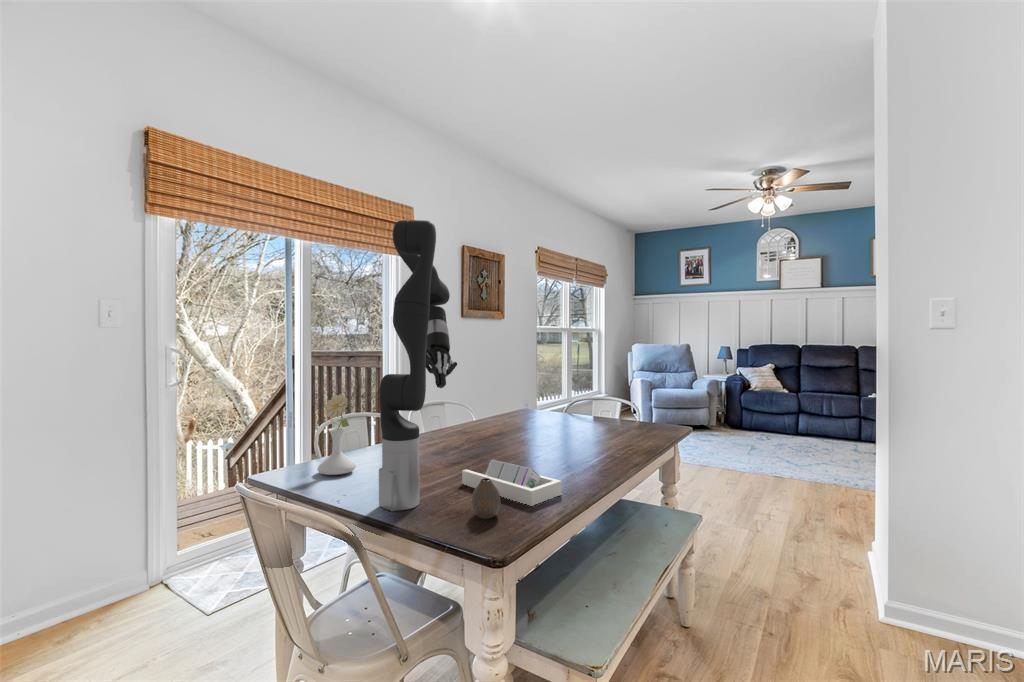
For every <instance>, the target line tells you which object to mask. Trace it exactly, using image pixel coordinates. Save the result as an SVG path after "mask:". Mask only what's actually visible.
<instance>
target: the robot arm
mask: <svg viewBox="0 0 1024 682" xmlns="http://www.w3.org/2000/svg"><path fill="white" fill-rule="evenodd" d="M392 242H393V246H394V248H395V251H396V252H397V254H398V256H399V257H400V258H401V259H402V261H403V262H404V264H405V265H406V267H407V268H408V269H409V270H410V271H411V273H412V274H411V275H410V276H409V277H408V278H407V281H405V283H404V284H403V285H402V286H401V288H400V289H399V290H398V292H397V293H396V296H395V298H394V302H393V315H392V324H393V325H392V326H393V327H394V330H395V332H396V334H397V336H398V338H399V340H400V342H401V343H402V345H403V347H404V349H405V351H406V354H407V356H408V360H409V373H407V374H406V373H404V374H403V373H387V374H385V375H384V376H383V377H382V378H381V380H380V382H379V383H380V384H379V390H378V391H379V393H378V396H379V397H378V398H379V411H380V412H379V413H380V414H379V415H380V429H381V440H382V441H381V452H382V453H381V461H382V462H381V467H380V468H378V506H379V507H381V508H383V509H385V510H386V511H389V510H390V512H397V511H407V510H410V509H413V508H416V507H418V506H419V504H420V428H419V425H418V424H416V423H415V422H413V421H410V420H408V419H406V418H404V417H403V416H402V415H401V413H400V411H405V412H418V411H421V410H422V408H423V407H424V403H425V400H426V393H427V392H426V391H427V390H426V389H427V388H426V387H427V383H426V382H427V374H426V373H427V371H428V372H429V374H433V376H434V379H435V386H436V388H439V389H442V388H445V386H446V385H447V380H446V379H447V378H446V377H448V376H450V375H451V373H453V371H454V369H456V367H457V366H458V362H456V361H453V360H452V357H451V355H450V350H451V343H450V342H451V341H450V335H449V334H450V333H449V328H448V324H447V323H448V322H447V314H446V311H445V309H444V308H443V307H441V306H443V305H446V304H447V303H448V302H449V300H450V297H451V295H450V294H451V293H450V290H449V288H448V286H447V285H446V284H445V282H444V281H442V280H441V278H440V277H439V273H438V270H437V268H436V266H435V265H434V258H435V252H436V244H437V243H436V242H437V231H436V226H435V224H434V222H432V221H430V220H423V219H422V220H420V219H415V220H412V219H411V220H410V219H408V220H405V219H404V220H403V219H402V220H398V221H397V222H395V223H394V225H393V230H392Z"/></svg>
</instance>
